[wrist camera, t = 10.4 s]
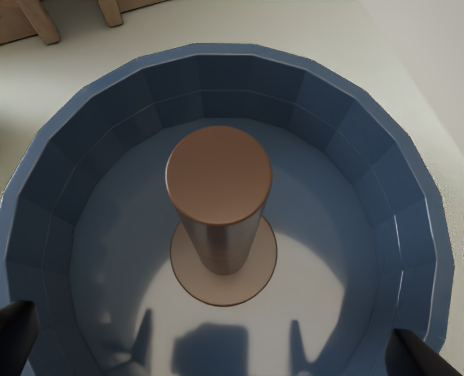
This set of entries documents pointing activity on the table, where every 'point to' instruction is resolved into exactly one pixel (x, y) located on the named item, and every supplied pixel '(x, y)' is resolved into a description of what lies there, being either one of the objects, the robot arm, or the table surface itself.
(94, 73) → the table surface
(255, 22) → the table surface
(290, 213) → the bowl
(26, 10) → the wooden puzzle
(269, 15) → the table surface
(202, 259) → the brown wooden peg
